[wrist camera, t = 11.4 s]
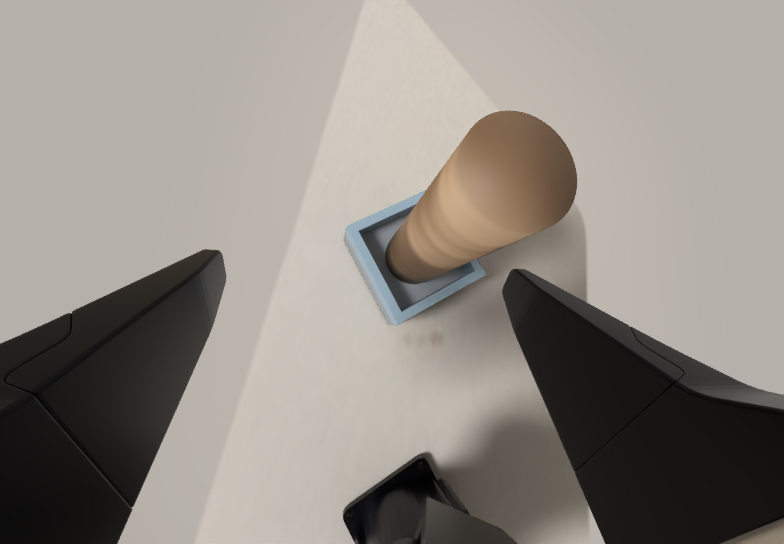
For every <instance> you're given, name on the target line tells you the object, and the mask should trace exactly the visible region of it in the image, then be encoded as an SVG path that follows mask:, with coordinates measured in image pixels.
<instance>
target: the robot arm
mask: <svg viewBox="0 0 784 544" xmlns="http://www.w3.org/2000/svg"><path fill="white" fill-rule="evenodd" d="M225 283H226V272H225V267H224V261H223V256H222V253H221V252H220V251H219V250H207V249H205V250H202V251H200V252H198V253H196V254H193V255H191V256H189V257H187V258H185V259H183V260H181V261H178V262H176V263H174V264H172V265H170V266H168V267H166V268H163V269H161V270H160V271H157V272H155V273H153V274H151V275H148V276H146V277H144V278H142V279H140V280H138V281H136V282H134V283H131V284H130V285H127V286H125V287H123V288H121V289H119V290H117V291H114V292H112V293H110V294H108V295H106V296H104V297H102V298H99V299H97V300H95V301H93V302H91V303H89V304H87V305H85V306H83V307H80V308H78V309H76V310H74V311H72V314H71V313H68V314H65V315H63V316H61V317H59V318H57V319H55V320H53V321H51V322H48V323H46V324H44V325H42V326H39V327H37V328H35V329H33V330H31V331H28V332H26V333H24V334H22V335H20V336H17V337H15V338H13V339H10V340H8V341H6V342H3V343H1V344H0V544H117V543H118V541H119V539H120V536H121V534H122V531H123V530H124V527H125V525H126V523H127V521H128V518H129V516H130V514H131V511H132V508H131V507H133V506H134V504H135V502H136V500H137V497H138V495H139V493H140V491H141V488H142V486H143V484H144V481H145V479H146V477H147V475H148V472H149V470H150V468H151V466H152V463H153V461H154V459H155V457H156V454H157V452H158V450H159V448H160V445H161V443H162V441H163V438H164V436H165V434H166V432H167V429H168V427H169V425H170V423H171V420H172V418H173V416H174V413H175V411H176V409H177V407H178V405H179V402H180V400H181V398H182V395H183V393H184V391H185V389H186V386H187V384H188V382H189V379H190V377H191V375H192V373H193V371H194V368H195V366H196V364H197V361H198V359H199V357H200V355H201V352H202V350H203V348H204V346H205V343H206V341H207V339H208V337H209V334H210V332H211V329H212V326H213V324H214V321H215V317H216V314H217V310H218V307H219V304H220V300H221V297H222V293H223V289H224V286H225ZM502 294H503V298H504V301H505V304H506V307H507V311H508V314H509V317H510V320H511V324H512V327H513V330H514V333H515V335H516V338H517V340H518V342H519V345H520V347H521V349H522V352H523V354H524V356H525V359H526V361H527V363H528V365H529V368H530V370H531V372H532V375H533V377H534V379H535V382H536V384H537V386H538V389H539V391H540V393H541V395H542V398H543V400H544V402H545V405H546V407H547V409H548V412H549V414H550V416H551V419H552V421H553V423H554V426H555V428H556V430H557V432H558V435H559V437H560V439H561V442H562V444H563V446H564V449H565V451H566V453H567V456H568V458H569V460H570V463H571V465H572V467H573V469H574V471H575V475H576V477H577V479H578V481H579V484H580V486H581V488H582V491H583V493H584V495H585V498H586V500H587V502H588V505H589V507H590V509H591V512H592V514H593V516H594V518H595V521H596V523H597V525H598V528H599V530H600V532H601V535H602V537H603V539H604V542H605V544H784V395H781V394H776V393H771V392H767V391H764V390H760V389H757V388H754V387H752V386H749V385H746V384H744V383H742V382H740V381H737V380H735V379H733V378H731V377H729V376H727V375H725V374H723V373H721V372H719V371H717V370H715V369H713V368H711V367H709V366H707V365H705V364H703V363H701V362H699V361H697V360H695V359H692V358H691V357H688V356H686V355H684V354H683V353H680V352H679V351H677V350H675V349H673V348H671V347H669V346H667V345H665V344H663V343H661V342H659V341H657V340H655V339H653V338H651V337H650V336H648V335H646V334H644V333H642V332H640V331H638V330H636V329H635V328H633V327H629V325H627V324H625V323H623V322H621V321H620V320H618V319H616V318H614V317H612V316H610V315H608V314H607V313H605V312H603V311H601V310H599V309H597V308H595V307H594V306H592V305H590V304H588V303H586V302H585V301H583V300H581V299H579V298H577V297H575V296H573V295H572V294H570V293H568V292H566V291H564V290H562V289H560V288H559V287H557V286H555V285H553V284H551V283H549V282H548V281H546V280H544V279H542V278H540V277H538V276H536V275H535V274H533V273H531V272H529V271H527V270H525V269H513V270H511V272H510V273H509V276H508V278H507V280H506V282H505V284H504V287H503V290H502ZM419 462H423V465H422V466H421V467H418V463H419ZM350 512H353V513H354V515H353V516H352V517H348V516H347V515H348V513H350ZM343 519H344V522H345V524H346V526H347V528H348V530H349V532H350V534H351V536H352V538H353V540H354V542H355V544H517V543H516V542H515V541H514V540H513V539H512V538H511V537H510V536H508V535H507V534H506V533H505V532H504V531H503V530H502V529H500V528H498V527H496V526H494V525H492V524H489V523H487V522H485V521H482V520H480V519H478V518H475V517H473V516H471V515H470V514H469V513H468V511H467V509H466V508H465V507H464V505H463V504H462V503H461V501H460V500H459V499H458V497H457V496H456V494H455V493H454V492H453V490H452V489H451V488H450V486H449V485H448V484H447V482H446V481H445V480H444V479H441V478H440V479H439V480H436V478H435V476H434V474H433V472H432V470H431V468H430V466H429V464H428V462H427V461H426V459H425V458H424V457H423V456H417V457H415V458H414V459H412V460H411V461H410V462H408V463H407V464H405V465H404V466H403V467H401V468H400V469H398V470H397V471H396V472H394V473H393V474H391V475H390V476H388V477H387V478H386V479H384V480H383V481H381V482H380V483H379V484H377V485H376V486H374V487H373V488H372V489H370V490H369V491H367V492H366V493H364V494H363V495H362V496H360V497H359V498H357V499H356V500H355V501H353V502H352V503H350V504H349V505H348V506H346V507H345V509H344V511H343Z"/></svg>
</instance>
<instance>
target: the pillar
mask: <svg viewBox="0 0 784 544" xmlns="http://www.w3.org/2000/svg"><path fill="white" fill-rule="evenodd" d="M576 189H577V174H576V168H575V164H574V161H573V158H572V155H571V153H570V151H569V149H568V147H567V146H566V144H565V143H564V141H563V140H562V139H561V137H560V136H559V135H558V134H557V133H556V132H555V131H554V130H553V129H552V128H551V127H550V126H549V125H547V124H546V123H545V122H543V121H541V120H540V119H538V118H536V117H534V116H532V115H529V114H526V113H523V112H518V111H499V112H495V113H492V114H490V115H487V116H485V117H484V118H482V119H480V120H479V121H478V122H477V123H476V124H475V125H474V126H473V127H472V128H471V129H470V131H469V132H468V133H467V135H466V136H465V138H464V139H463V140H462V142H461V143H460V145H459V146H458V147H457V149H456V150H455V151H454V153H453V154H452V156H451V157H450V158H449V160H448V161H447V163H446V164H445V165H444V167H443V168H442V169H441V171H440V172H439V174H438V175H437V176H436V178H435V179H434V180H433V182H432V183H431V185H430V186H429V187H428V189H427V190H426V192H425V193H424V194H423V196H422V197H421V198H420V200H419V201H418V203H417V204H416V205H415V207H414V208H413V210H412V211H411V212H410V214H409V215H408V216H407V218H406V219H405V221H404V222H403V223H402V225H401V226H400V227H399V229H398V230H397V232H396V233H395V234H394V236H393V237H392V239H391V240H390V241H389V243H388V245H387V248H386V252H385V259H386V264H387V267H388V269H389V271H390V272H391V274H392V275H393V276H394V277H395V278H397V279H398V280H400V281H401V282H404V283H407V284H420V283H423V282H425V281H428V280H430V279H432V278H434V277H437V276H439V275H441V274H444V273H446V272H448V271H450V270H453V269H455V268H457V267H459V266H462V265H464V264H466V263H469V262H471V261H473V260H475V259H478V258H480V257H482V256H485V255H487V254H489V253H491V252H494V251H496V250H498V249H500V248H503V247H505V246H507V245H510V244H512V243H514V242H516V241H519V240H521V239H523V238H525V237H528V236H530V235H532V234H535V233H537V232H539V231H541V230H544V229H546V228H548V227H550V226H552V225H554V224H556V223H557V222H558V221H560V220H561V219H562V218H563V217H564V216H565V215H566V214H567V212H568V211H569V209H570V208H571V206H572V204H573V201H574V198H575V195H576Z"/></svg>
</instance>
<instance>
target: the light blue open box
mask: <svg viewBox="0 0 784 544" xmlns="http://www.w3.org/2000/svg"><path fill="white" fill-rule="evenodd" d="M425 192H426V190H425V191H423V192H421V193H419V194H417V195H414V196H412V197H410V198H408V199H406V200H403V201H401V202H399V203H397V204H395V205H392V206H390V207H388V208H386V209H384V210H381V211H379V212H377V213H375V214H373V215H370V216H368V217H366V218H364V219H362V220H359V221H357V222H355V223H353V224H351V225H348V226H346V229H345V235H344V242H345V244H346V246H347V248H348V250H349V252H350V254H351V256H352V258H353V259H354V261H355V263H356V265H357V267H358V269H359V271H360V273H361V275H362V276H363V278H364V280H365V282H366V284H367V286H368V288H369V290H370V292H371V293H372V295H373V297H374V299H375V301H376V303H377V305H378V307H379V309H380V311H381V312H382V314H383V316H384V318H385V320H386V322H387V324H388V325H399V324H400V323H402V322H404V321H406V320H407V319H409V318H411V317H413V316H414V315H416V314H418V313H420V312H421V311H423V310H425V309H427V308H428V307H430V306H432V305H434V304H435V303H437V302H439V301H441V300H442V299H444V298H446V297H448V296H449V295H451V294H453V293H455V292H456V291H458V290H460V289H462V288H463V287H465V286H467V285H469V284H470V283H472V282H474V281H476V280H477V279H479V278H481V277H483V276H484V275H486V273H485V272H484V270H483V268H482V266H481V264H480V263H479V261H478V259H475V260H473V261H471V262H469V263H466V264H464V265H462V266H459V267H457V268H455V269H453V270H450V271H448V272H446V273H444V274H441V275H439V276H437V277H434V278H432V279H430V280H428V281H425V282H423V283H420V284H407V283H404V282H401V281H400V280H398V279H397V278H395V277H394V276H393V275H392V274H391V272H390V271H389V269H388V267H387V264H386V259H385V252H386V248H387V245H388V243H389V241H390V240H391V239H392V237H393V236H394V234H395V233H396V232H397V230H398V229H399V227H400V226H401V225H402V223H403V222H404V221H405V219H406V218H407V216H408V215H409V214H410V212H411V211H412V210H413V208H414V207H415V205H416V204H417V203H418V201H419V200H420V198H421V197H422V196H423V194H424V193H425Z"/></svg>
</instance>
